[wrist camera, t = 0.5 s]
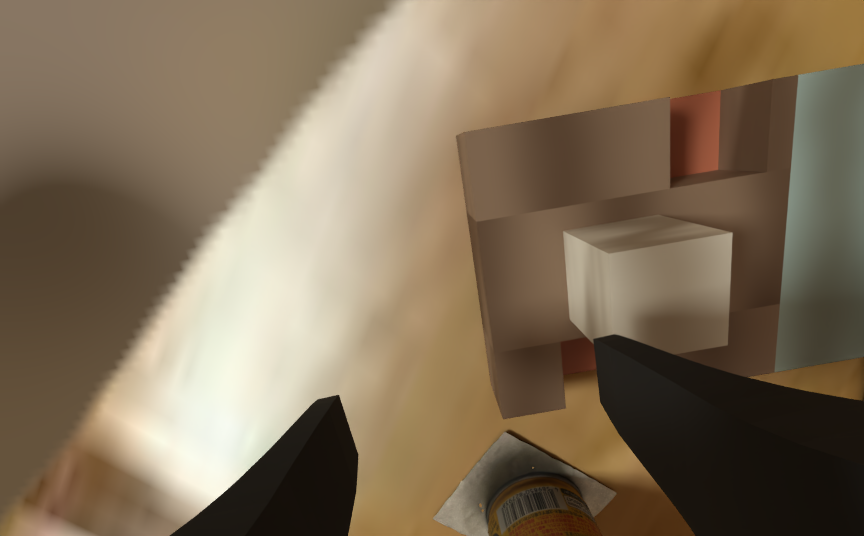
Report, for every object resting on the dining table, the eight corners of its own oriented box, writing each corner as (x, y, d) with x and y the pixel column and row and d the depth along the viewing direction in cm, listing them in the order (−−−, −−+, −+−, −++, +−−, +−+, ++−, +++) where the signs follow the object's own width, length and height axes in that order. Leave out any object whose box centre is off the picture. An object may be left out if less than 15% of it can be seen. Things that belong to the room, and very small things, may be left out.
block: (658, 214, 17) (732, 232, 13) (658, 304, 18) (727, 345, 14) (563, 231, 17) (608, 253, 13) (569, 319, 18) (613, 364, 14)
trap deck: (845, 69, 18) (968, 44, 14) (816, 328, 22) (908, 366, 18) (456, 136, 18) (468, 130, 14) (491, 384, 22) (509, 436, 18)
